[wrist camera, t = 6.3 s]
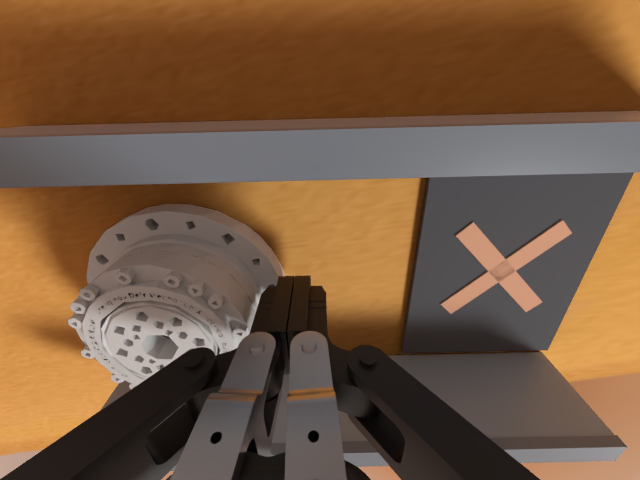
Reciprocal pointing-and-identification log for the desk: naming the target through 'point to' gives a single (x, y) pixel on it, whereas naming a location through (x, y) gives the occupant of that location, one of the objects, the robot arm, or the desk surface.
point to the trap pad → (503, 258)
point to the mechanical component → (170, 288)
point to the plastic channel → (371, 163)
